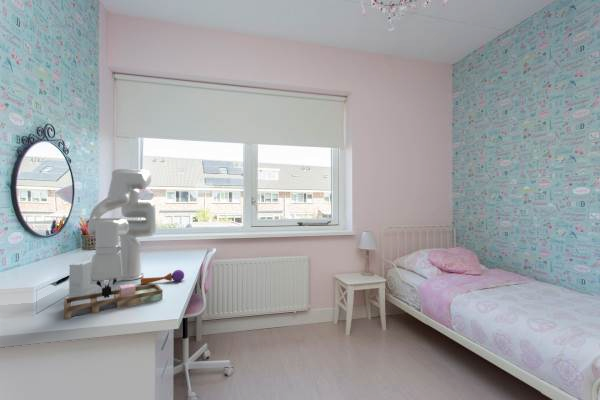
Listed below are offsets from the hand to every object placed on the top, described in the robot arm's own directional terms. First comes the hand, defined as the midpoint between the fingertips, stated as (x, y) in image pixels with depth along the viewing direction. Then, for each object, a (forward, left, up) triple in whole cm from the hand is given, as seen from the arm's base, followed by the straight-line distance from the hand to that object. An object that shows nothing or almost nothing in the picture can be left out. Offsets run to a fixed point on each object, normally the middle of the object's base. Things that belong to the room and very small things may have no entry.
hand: (106, 296), depth 110 cm
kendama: (-21, +26, -4) cm, 33 cm away
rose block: (0, +7, -1) cm, 7 cm away
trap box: (0, +3, -4) cm, 5 cm away
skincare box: (-21, -7, -4) cm, 22 cm away
